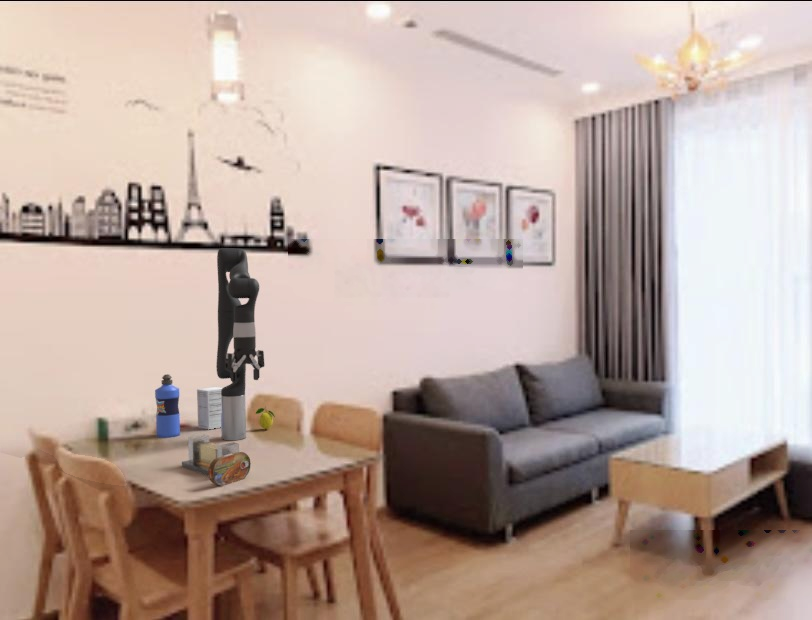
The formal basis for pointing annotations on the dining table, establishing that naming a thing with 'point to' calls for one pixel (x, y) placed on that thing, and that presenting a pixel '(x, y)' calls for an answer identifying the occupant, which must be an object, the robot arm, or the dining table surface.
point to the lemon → (265, 418)
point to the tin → (229, 468)
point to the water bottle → (167, 409)
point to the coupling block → (207, 452)
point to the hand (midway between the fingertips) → (245, 381)
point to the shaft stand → (194, 453)
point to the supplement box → (209, 407)
